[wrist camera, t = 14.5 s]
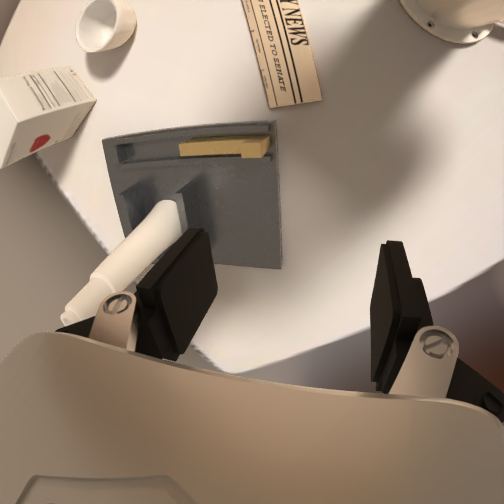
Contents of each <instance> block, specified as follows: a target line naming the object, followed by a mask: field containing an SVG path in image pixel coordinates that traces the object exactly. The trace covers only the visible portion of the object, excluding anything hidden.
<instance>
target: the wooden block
mask: <svg viewBox="0 0 504 504" xmlns="http://www.w3.org/2000/svg"><path fill="white" fill-rule="evenodd" d="M270 148H271V138H270V135H246V136H224V137H208V138H194V139H188V140H186V141H184V142H182V143H179V150H180V156H193V155H213V154H241V157H242V158H261V157H262V156H263V155H264V154H265V153H266V152H267V151H268V150H269V149H270Z"/></svg>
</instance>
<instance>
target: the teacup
mask: <svg viewBox="0 0 504 504" xmlns="http://www.w3.org/2000/svg"><path fill="white" fill-rule="evenodd" d="M135 26H136V14H135V11H134V9H133V8H132V7H131V6H130V5H129V4H127V3H126V2H124V1H122V0H91V1H90V2H89V3H88V4H87V5H86V6H85V7H84V8H83V10H82V11H81V13H80V15H79V17H78V20H77V23H76V29H75V35H76V41H77V43H78V45H79V47H80V48H81V49H82V50H84V51H85V52H89V53H92V52H99V51H106V50H110V49H114V48H117V47H119V46H121V45H122V44H124V43H125V42H126V41H127V40H128V39H129V38H130V37H131V35H132V34H133V32H134V29H135Z"/></svg>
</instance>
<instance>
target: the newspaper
mask: <svg viewBox="0 0 504 504" xmlns="http://www.w3.org/2000/svg"><path fill="white" fill-rule="evenodd" d="M242 1H243V4H244V8H245V11H246V15H247V19H248V22H249V26H250V30H251V34H252V37H253V41H254V45H255V49H256V53H257V57H258V61H259V65H260V69H261V73H262V77H263V81H264V86H265V90H266V94H267V98H268V103H269V107H270V108H275V107H281V106H287V105H294V104H300V103H307V102H314V101H321V100H322V97H321V92H320V87H319V82H318V77H317V73H316V68H315V64H314V60H313V56H312V51H311V47H310V43H309V39H308V35H307V32H306V28H305V24H304V20H303V17H302V13H301V10H300V6H299V3H298V0H242Z"/></svg>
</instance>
